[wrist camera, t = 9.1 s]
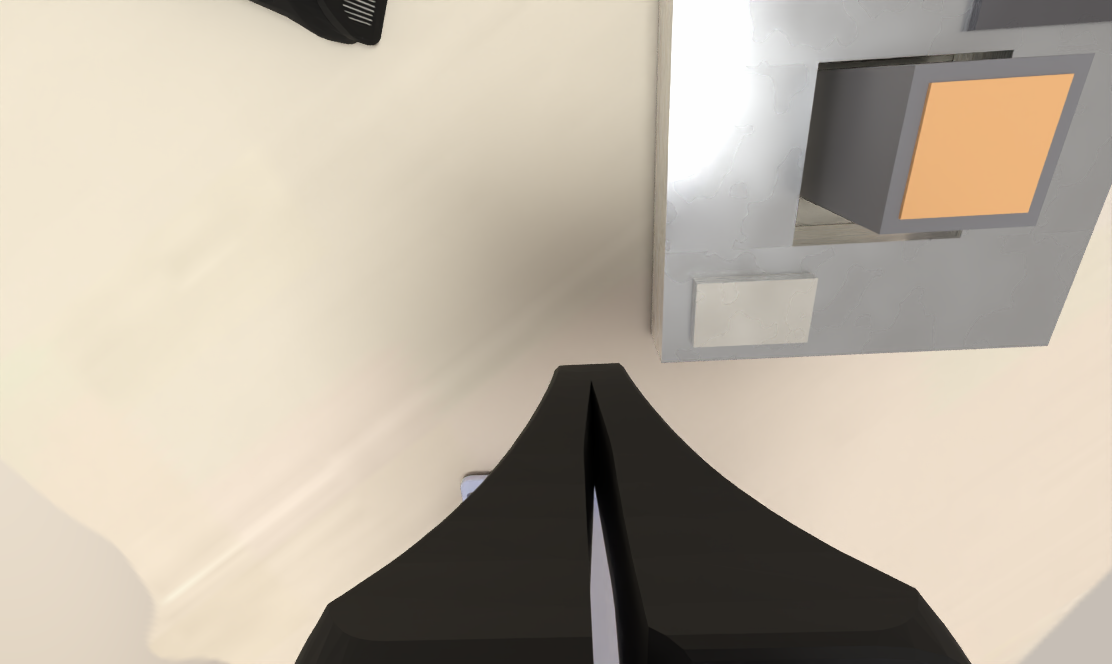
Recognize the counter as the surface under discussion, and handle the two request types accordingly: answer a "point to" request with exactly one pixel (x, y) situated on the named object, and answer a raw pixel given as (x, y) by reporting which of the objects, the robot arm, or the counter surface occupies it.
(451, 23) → the counter surface
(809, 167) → the plug
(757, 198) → the socket plate
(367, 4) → the electric trimmer
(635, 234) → the counter surface
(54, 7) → the counter surface
